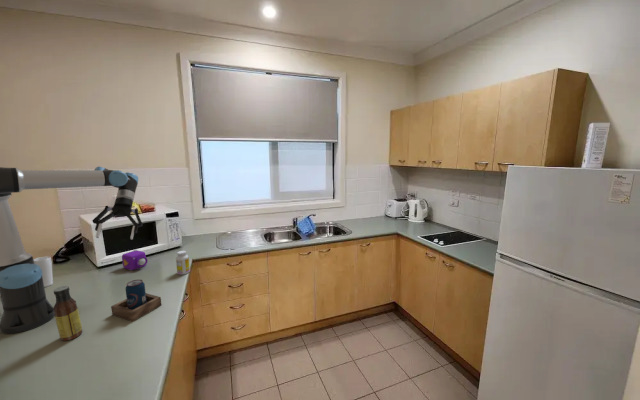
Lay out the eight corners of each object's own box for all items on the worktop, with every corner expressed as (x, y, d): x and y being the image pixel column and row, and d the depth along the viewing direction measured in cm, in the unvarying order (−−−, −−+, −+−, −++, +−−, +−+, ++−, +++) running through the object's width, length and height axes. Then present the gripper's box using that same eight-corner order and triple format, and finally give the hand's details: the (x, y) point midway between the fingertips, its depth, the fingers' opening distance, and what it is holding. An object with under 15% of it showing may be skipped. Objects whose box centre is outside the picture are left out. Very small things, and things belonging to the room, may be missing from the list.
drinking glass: (34, 286, 136) (29, 259, 133) (52, 281, 142) (47, 255, 139) (39, 289, 133) (34, 262, 130) (57, 284, 139) (53, 257, 136)
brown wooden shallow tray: (132, 321, 107) (131, 312, 106) (112, 314, 111) (111, 306, 111) (161, 305, 119) (160, 297, 118) (142, 299, 124) (141, 291, 123)
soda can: (124, 311, 112) (120, 286, 110) (135, 303, 119) (132, 278, 117) (139, 312, 112) (136, 286, 110) (150, 303, 119) (147, 278, 117)
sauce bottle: (81, 328, 102) (73, 282, 99) (84, 335, 98) (76, 287, 95) (57, 337, 97) (49, 288, 94) (60, 344, 93) (51, 294, 90)
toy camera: (138, 272, 153) (136, 256, 152) (119, 270, 156) (117, 254, 154) (153, 265, 164) (152, 250, 162) (135, 263, 167) (133, 248, 165)
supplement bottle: (189, 269, 158) (187, 249, 156) (190, 273, 152) (188, 252, 150) (176, 271, 154) (174, 251, 152) (177, 276, 148) (175, 254, 146)
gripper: (152, 205, 145) (145, 241, 136) (95, 200, 134) (83, 239, 124) (152, 199, 140) (144, 236, 130) (93, 193, 128) (79, 233, 118)
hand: (114, 238), depth 127 cm, fingers open, 13 cm apart
